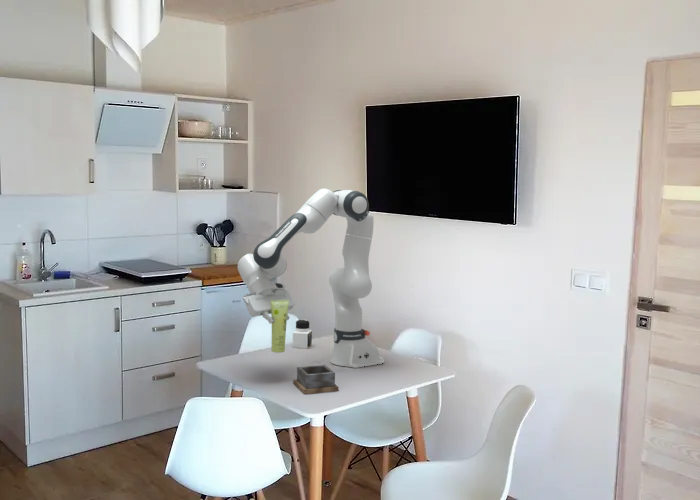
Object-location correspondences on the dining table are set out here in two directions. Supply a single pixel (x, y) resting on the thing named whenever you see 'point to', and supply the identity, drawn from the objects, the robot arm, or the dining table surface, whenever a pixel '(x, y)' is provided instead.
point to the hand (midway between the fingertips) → (280, 321)
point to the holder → (315, 379)
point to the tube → (279, 324)
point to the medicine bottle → (302, 335)
